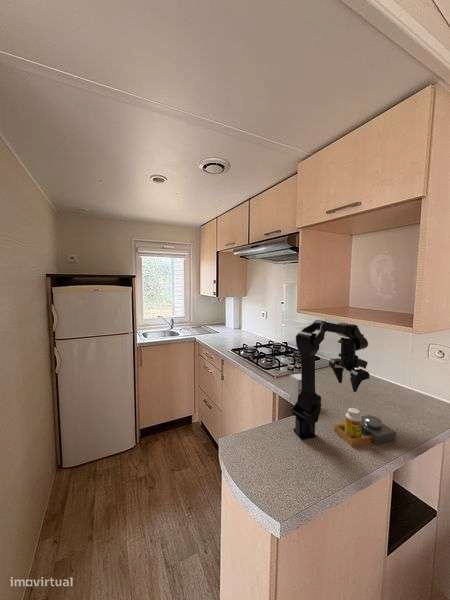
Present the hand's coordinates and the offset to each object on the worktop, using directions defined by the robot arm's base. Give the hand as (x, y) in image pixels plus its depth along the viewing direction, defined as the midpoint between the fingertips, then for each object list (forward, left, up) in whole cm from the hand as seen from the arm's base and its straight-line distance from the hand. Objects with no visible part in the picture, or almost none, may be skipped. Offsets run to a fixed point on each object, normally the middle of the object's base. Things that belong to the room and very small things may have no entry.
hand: (347, 387), depth 107 cm
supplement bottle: (-8, -13, -13) cm, 20 cm away
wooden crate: (-4, -14, -13) cm, 19 cm away
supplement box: (-13, +16, -13) cm, 25 cm away
